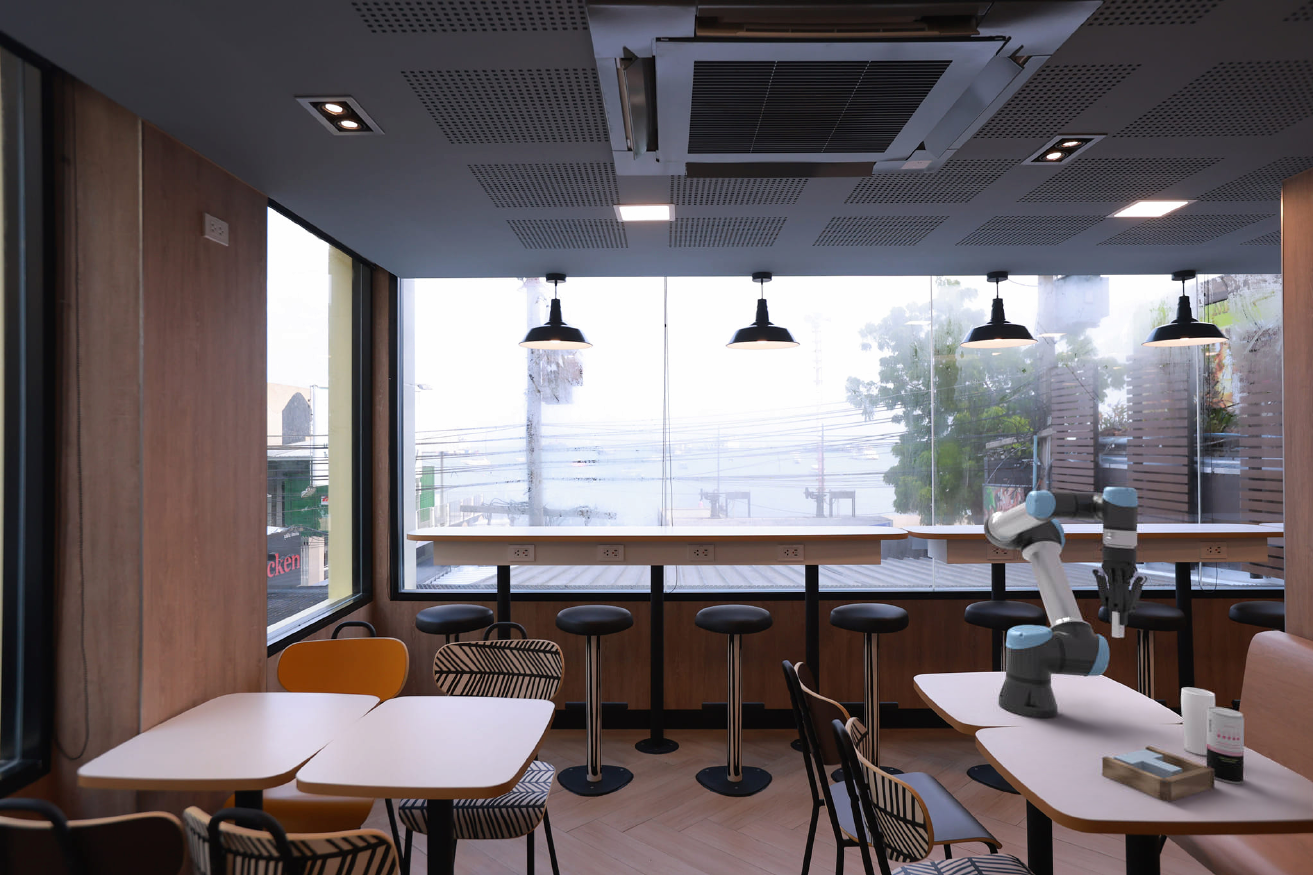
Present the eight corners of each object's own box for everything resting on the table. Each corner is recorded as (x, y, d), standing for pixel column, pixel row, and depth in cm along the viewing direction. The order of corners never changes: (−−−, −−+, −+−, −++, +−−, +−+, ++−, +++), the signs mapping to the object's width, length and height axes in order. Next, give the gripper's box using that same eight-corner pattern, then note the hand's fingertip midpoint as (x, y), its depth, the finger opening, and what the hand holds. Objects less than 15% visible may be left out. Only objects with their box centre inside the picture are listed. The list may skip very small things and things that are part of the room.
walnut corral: (1102, 774, 159) (1102, 757, 159) (1149, 762, 167) (1149, 745, 167) (1167, 801, 147) (1167, 782, 147) (1214, 787, 155) (1214, 769, 155)
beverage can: (1205, 768, 165) (1206, 704, 166) (1241, 776, 161) (1242, 710, 162) (1207, 778, 160) (1208, 711, 160) (1244, 786, 156) (1245, 718, 156)
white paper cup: (1220, 759, 171) (1221, 697, 172) (1189, 755, 172) (1190, 694, 173) (1205, 748, 178) (1205, 688, 178) (1174, 745, 179) (1175, 685, 180)
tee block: (1113, 774, 160) (1113, 756, 160) (1144, 766, 165) (1144, 749, 165) (1161, 793, 151) (1161, 774, 151) (1192, 784, 156) (1192, 765, 156)
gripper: (1085, 543, 188) (1084, 631, 187) (1136, 549, 176) (1135, 644, 175) (1103, 542, 191) (1102, 629, 190) (1154, 549, 179) (1153, 641, 178)
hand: (1117, 636), depth 183 cm, fingers closed
